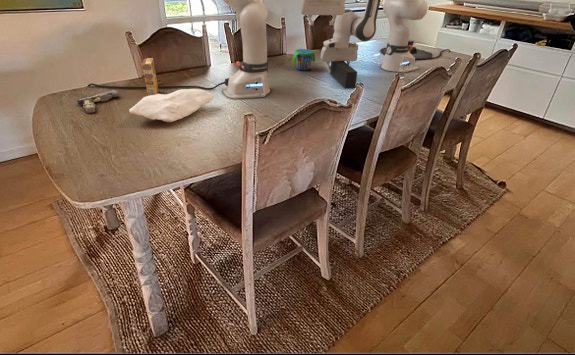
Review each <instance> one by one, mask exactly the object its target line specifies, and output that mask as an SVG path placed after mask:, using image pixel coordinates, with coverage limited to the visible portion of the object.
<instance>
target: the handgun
mask: <svg viewBox="0 0 575 355" xmlns="http://www.w3.org/2000/svg"><path fill="white" fill-rule="evenodd" d="M119 96H120V94H119V92H118V91H117V90H116V89H112V90H108V91H105V92H104V91H103V92H101V93H96V94H94V95H86V94H85V95H84V94H83V95H81V96H80V97H77V98H76V101H77V104H78V105H82V108H83V109H84V110H85V113H87V114H91V113H95V112H96V104H95V103H98V102H106V101H109V100H111V99H113V98H117V97H119Z"/></svg>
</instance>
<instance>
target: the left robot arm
mask: <svg viewBox="0 0 575 355" xmlns="http://www.w3.org/2000/svg"><path fill="white" fill-rule="evenodd" d="M223 2H224V3H225V4H226V5H227V6H229V7H230V8H231V9H232V10H234V11H235V13H237V14H238V15H239V22H240V33H241V34H240V35H241V41H242V42H241V43H242V59H243V60H242V61H236V62H235V65H236V66H237V67H239V69H237V71H236V72H235V73H234V74H232V75H231V76H230V77H228V78H224V81H223V82H220V83H218V84H215V86H212V87H204V86H201V85H158V89H173V88H175V89H176V88H177V89H180V88H181V89H186V88H187V89H202V90H205V91H208V90H209V91H210V90H214V89H216V88H218V87H220V86H222V85H224V86H226V87H224V88H223V91H222V92H223V94H224V95H225V96H226V97H228V98H230V99H233V100H236V99H237V100H238V99H239V100H240V99H253V98H254V99H255V98H264V97H266V95H268V94H269V93H270V92H271V88H270V84H269V78H268V76H269V75H268V72H269V61H268V40H267V39H268V38H267V21H268V18H269V10H268V7H267V6H266V5H265V3H264V2H263V1H262V0H223ZM345 9H346V0H301V4H300V13H301V15H303V16H307V18H308V20H309V26H310V27H311V26H315V21H314V20H312V18H313V16H332V18H331V20H329V26H332V27H334V23H335V19H336V17H337V15H343V14H344V12H345ZM91 86H95V87H98V88H107V89H147V88H146V86H122V85H121V86H119V85H102V84H97V83H89V84H87V86H86V87H87V88H89V87H91Z"/></svg>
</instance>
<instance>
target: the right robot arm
mask: <svg viewBox="0 0 575 355" xmlns="http://www.w3.org/2000/svg"><path fill="white" fill-rule="evenodd" d="M381 1H382V0H366V5H365V10H364V13H363V17H362V16H360V15H358V14H356V13H354V12H353V10H352V9H348V8H347V9H346V8H345V12H344V14H343V15H337V17H336V19H335V21H334V23H333V34H332V38H329V39H327V40H324V41H323V42H322V44H323V46H322V48H321V51H320V57H319V58H320V60H321V61H322V62H325V63H326V65H327V70H329V71H330V70H331V61H345V62H346V63H347V64H348V65H351V62H356V61H357V60H358V51H359V44H357V43H356V42H350V40H351V39H350V38H351V36H352V37H353V36H354V37H355V38H356V39H358V40H359V41H361V42H369V41H370V40H372V39H373V38H374V36H375V35H376V32H377V18H378V15H379V14H378V13H379V10H380V4H381ZM428 8H429V6H428V1H426V0H384V2H383V5H382V10H383V13H384V14H385V16H386V17H387V20H388V23H389V24H388V25H389V35H388V41H387V43H386V47H385V48H386V54H385V53H384V54H385V55H384V58H383V61H382V63H381V66H380V68H381V69H382V70H384V71H387V72H388V71H389V72H393V73H394V72H395V73H404V74H405V73H408V72H412V71H417V70H419V67H418V66H417V65H415V64H416V61H419V60H434V59H437V58H440V57H441V56H442V53H443V52H445V51H448V52H451V50H450V49H449V48H446V49H445V48H444V49H443V50H441V51H439V55H437V56H434V57H429V58H423V59H422V58H421V59H415V58H414V57H413V56H412V55H411V53H410V52H409V49H412V48H413V47H414V45H413V46H411V45H409V46H408V40H410V34H411V30H410V28H409V27H408V25H407V24H406V21H405V20H409V21H420V20H422V19H423V18H425V16H426V15H427V13H428ZM380 55H381V53H375V54H373V57H378V56H380Z"/></svg>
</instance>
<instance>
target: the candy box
mask: <svg viewBox="0 0 575 355" xmlns="http://www.w3.org/2000/svg"><path fill="white" fill-rule="evenodd" d="M141 66H142V73H143V78H144V82H145V87H146V88H145V89H146V92H147V96H150V95H156V94H159V91H160V90H159V88H158V86H159V84H158V79H157V73H156V66H155V62H154V58H153V57H151V58H150V57H149V58H146V57H145V58H143V60H142V63H141Z"/></svg>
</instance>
